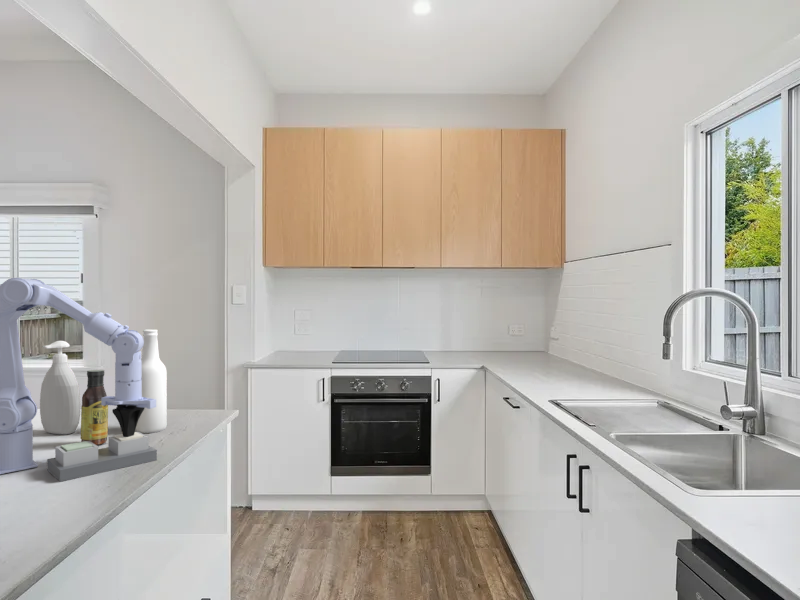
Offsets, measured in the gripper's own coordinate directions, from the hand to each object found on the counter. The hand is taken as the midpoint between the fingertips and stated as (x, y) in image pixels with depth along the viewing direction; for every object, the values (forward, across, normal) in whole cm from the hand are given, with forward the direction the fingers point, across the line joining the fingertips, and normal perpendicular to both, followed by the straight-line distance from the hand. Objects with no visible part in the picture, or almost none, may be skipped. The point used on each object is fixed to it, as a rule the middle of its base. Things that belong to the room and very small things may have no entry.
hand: (128, 436), depth 124 cm
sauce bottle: (+6, -19, +8) cm, 22 cm away
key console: (+6, -3, -5) cm, 8 cm away
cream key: (+1, 0, 0) cm, 1 cm away
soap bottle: (+6, -39, +14) cm, 42 cm away
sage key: (+1, -5, -10) cm, 11 cm away
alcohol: (+6, -16, +24) cm, 30 cm away
